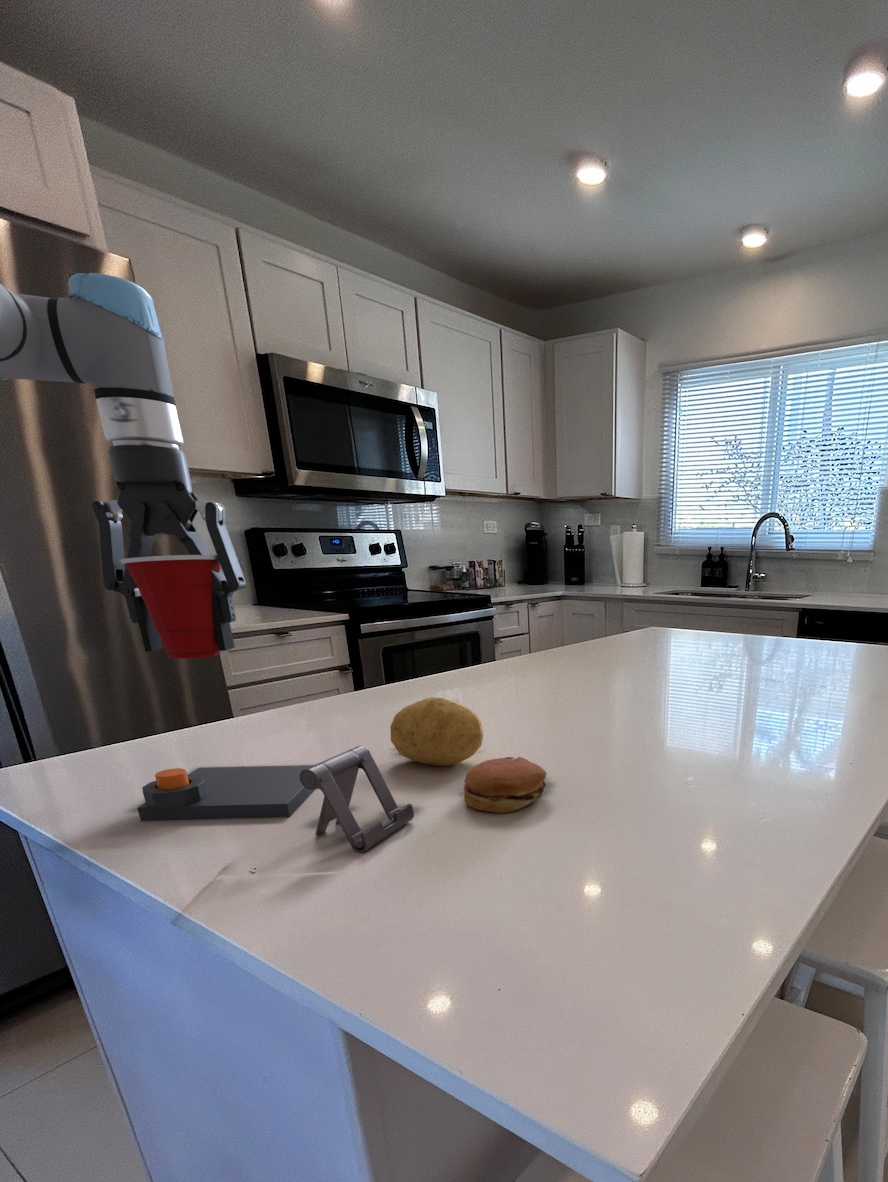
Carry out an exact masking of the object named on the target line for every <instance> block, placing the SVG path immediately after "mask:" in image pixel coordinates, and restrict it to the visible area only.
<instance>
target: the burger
mask: <svg viewBox="0 0 888 1182" xmlns="http://www.w3.org/2000/svg"><path fill="white" fill-rule="evenodd" d="M547 775H548V773H547V771H546V770H545V769H544V768H543V767H541V766H540V765H539V764H537V763H535V762H531V761H529V760H528V759H526V758H524V757H521V756H517V757H515V756H505V757H499V758H493V759H488V760H484V761H482V762H480V763H477V764H476V765H474V766H472V767H471V768H469V771H468V772H466V775H465V777H464V783H463V792H464V797H463V798H464V802H465V804H467V805H468V806H469V807H471V808H473V809H476V810H478V811H483V812H490V813H491V812H492V813H495V814H506V813H512V812H515V811H518V810H521V809H523V808H524V807H526V806H528V805H530V804H531V803H534V802H535V801H537V800H539V799H540V798H541V797H542V795H543V792H545V791H544V789H545V788H546V786H547V784H546V781H545V780H546V777H547Z"/></svg>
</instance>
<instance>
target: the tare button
mask: <svg viewBox="0 0 888 1182" xmlns="http://www.w3.org/2000/svg"><path fill="white" fill-rule="evenodd" d="M187 775H188V772H187V769H186V768H182V767H181V768H179V767H178V768H177V767H176V768H168V769H164V770H160V771H157V772H155V774H154V777H155V781H157V785H158V789H160V790H166V789H175V788H180V787H184V786H187V785H189V780H188V776H187Z"/></svg>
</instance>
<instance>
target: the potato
mask: <svg viewBox="0 0 888 1182" xmlns="http://www.w3.org/2000/svg"><path fill="white" fill-rule="evenodd" d="M393 717H394V718H392V721H391V723H390V742H391V743H392V745H393V746H394V748H395V749H396V751H397V752H398V754H399V755H401V756H403V757H404V758H406V759H408V760H410V761H414V762H417V763H420V764H425V765H429V766H435V767H451V766H454V765H457V764H459V763H461V762H462V763H463V762H464V761H466V760H468V759H470V758H471V757H472V756H474V755H475V754H476V753H477V751H478V750H479V749H480V748H481V746H482V745H483V739H484V731H483V725H482V724H483V723H482V721H481V720H480V718H479V716H478V715H477V713H476V712H474V711H473V710H472V709H470V708H469V707H468V706H465V705H463V704H460V703H458V702H455V701H452V700H449V699H446V698H444V697H433V696H431V697H427V698H424V699H421V700H419V701H415V702H413V703H411V704H408V705H406V706H404V707H403V708H401V709H400V710H399V711H398V712H397V713H395V715H394V716H393Z"/></svg>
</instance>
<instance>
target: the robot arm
mask: <svg viewBox="0 0 888 1182" xmlns="http://www.w3.org/2000/svg"><path fill="white" fill-rule="evenodd" d="M67 284H68V292H67V294H68V297H51V296H50V297H47V296H39V295H31V294H23V293H16V292H13V291H12V290H10V289H9V288H8V287H6V286H5V285H4V284H2V283H1V282H0V381H7V380H23V381H24V380H25V381H41V382H60V383H77V384H86V385H87V384H91V386H92V389H93V394H94V397H95V402H96V405H97V409H98V414H99V419H100V422H101V426H102V430H103V435H104V438H105V440H107V441H108V443H109V442H110V443H112V446H109V449H107V453H108V457H109V462H110V465H111V469H112V473H113V478H114V481H115V482H116V485H117V488H118V493H117V496H116V499H112V500H107V501H103V500H102V501H101V500H93V501H92V502H91V508H92V511H93V513H94V516H95V518H96V520H97V522H98V531H99V544H100V545H99V546H100V557H101V569H102V570H101V571H102V583H103V587H104V588H105V590H106V591H112V592H116V593H118V594H121V595H122V596H123V597H124V599H125V603H126V607H127V610H128V614H129V619H130V621H131V622H132V623H133V624H138V627H139V631H140V635H141V639H142V643H143V647H144V651H145V652H148V653H149V652H152V653H153V652H155V651H159V650H162V649H164V645H163V643H162V640H161V638H160V636H159V633H158V631H157V630H156V628H155V626H154V624H153V621H152V619H151V617H150V614H149V612H148V610H147V608H146V605H145V603H144V601H143V598H142V596H141V594H140V591H139V589H138V587H137V586H136V584H135V582H134V580H133V577H131V575H130V573H129V571H128V570H127V568H126V567H125V564H121V562H120V560H121V559H125V549H124V535H123V534H124V533H123V526H122V521H121V520H122V519H123V518H124V516H123V513H124V514H125V515H126V516H127V517H128V518H129V519H130V520H131V524H130V529H129V538H130V541H129V545H128V551H127V557H126V559H127V558H136V557H150V556H151V553H152V549H153V544H154V543H155V542H156V540H157V536H163V535H164V536H165V535H168V536H175V537H176V538H177V540H178V541H179V542H180V543H182V545H183V546H184V548H185V549H186V551H187V552H188V555H212V554H211V552H210V551H209V549H208V548H207V546H206V544H205V543H204V541H203V539H202V536H201V535H202V534H201V533H200V532H199V531H198V529H197V527H196V525H195V524H194V522H193V521H194V520H195V517H196V516H197V513H200V516H201V519H202V520H203V521H204V522H205V525H206V529H207V531H208V534H209V537H210V539H211V543H212V545H213V549H214V550H215V551H214V552H215V553H216V555H217V556H218V559H219V562H220V564H221V570H220V572H219V573H218V572H215V571H212V574H211V576H212V590H213V591H214V593H212V594H213V595H214V596H212V617H213V622H214V627H215V632H216V637H217V642H218V647H219V651H221V652H226V651H229V650H231V649H235V648H236V647H235V643H234V638H233V632H232V628H231V627H232V626H231V623H234V622H236V620H237V619H236V618H237V615H236V610H235V604H234V599H233V595H234V593H235V592H239V591H241V590H244V589H246V588H247V581H246V579H245V576H244V572H243V570H242V568H241V565H240V562H239V559H238V556H237V554H236V550H235V548H234V545H233V542H232V539H231V536H230V534H229V531H228V528H227V525H226V507H225V506H224V505H223V504H222V503H219V502H213V501H201V500H199V499H198V498H197V497H196V495H195V493H194V492H193V488H192V479H191V473H190V468H189V464H188V458H187V454H186V453H184V452H183V451H182V450H180V448H181V447H183V446H184V444H185V442H184V437H183V433H182V428H181V424H180V419H179V415H178V410H177V406H176V399H175V395H174V390H173V385H172V379H171V374H170V369H169V368H170V367H169V364H168V357H167V353H166V352H167V351H166V346H165V344H166V342H165V339H164V337H163V335H162V332H161V328H160V324H159V320H158V315H157V311H156V307H155V303H154V300H153V298H152V296H151V295H150V294H149V293H148V292H147V291H146V290H145V288H143V287H142V286H140V285H139V284H137V283H135V282H133V281H131V280H128V279H125V278H122V277H118V276H116V275H115V276H114V275H110V274H105V273H97V272H89V273H83V272H81V273H80V272H79V273H78V272H77V273H75V274H72V275H71V276H70V277H69V279H68V282H67Z"/></svg>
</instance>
